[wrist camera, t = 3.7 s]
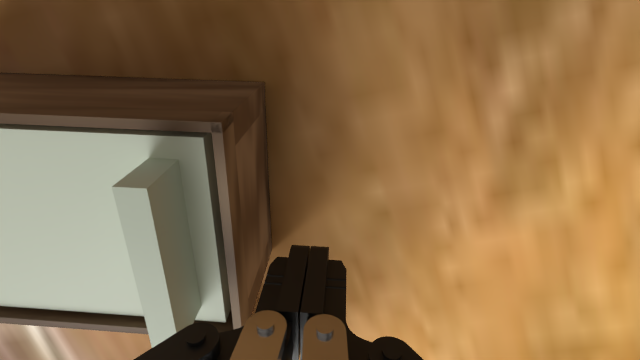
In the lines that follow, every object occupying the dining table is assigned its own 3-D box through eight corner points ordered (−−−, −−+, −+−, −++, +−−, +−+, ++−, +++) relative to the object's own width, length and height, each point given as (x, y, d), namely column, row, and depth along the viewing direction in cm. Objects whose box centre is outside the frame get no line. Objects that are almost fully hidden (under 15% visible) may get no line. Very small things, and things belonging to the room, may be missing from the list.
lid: (-126, 114, 16) (-245, 143, 13) (212, 129, 15) (175, 163, 12) (-37, 288, 20) (-110, 342, 17) (231, 307, 19) (208, 367, 16)
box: (-18, 72, 21) (-191, 105, 14) (264, 82, 20) (221, 122, 13) (42, 235, 26) (-66, 317, 19) (271, 249, 25) (242, 341, 18)
